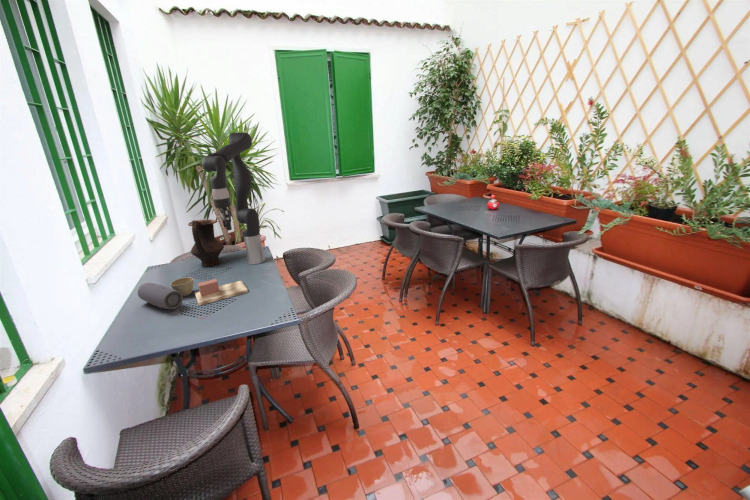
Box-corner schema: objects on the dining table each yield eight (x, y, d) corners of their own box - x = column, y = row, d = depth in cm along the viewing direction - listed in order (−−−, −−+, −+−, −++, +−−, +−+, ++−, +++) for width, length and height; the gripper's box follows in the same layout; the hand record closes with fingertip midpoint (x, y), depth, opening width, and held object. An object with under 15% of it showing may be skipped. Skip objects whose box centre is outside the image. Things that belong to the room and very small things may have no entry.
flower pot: (199, 293, 169) (196, 280, 167) (178, 300, 163) (174, 287, 160) (192, 288, 176) (188, 275, 174) (171, 295, 169) (167, 282, 167)
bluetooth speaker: (186, 306, 157) (181, 286, 154) (166, 315, 149) (160, 294, 146) (159, 297, 168) (154, 278, 165) (139, 305, 161) (133, 286, 158)
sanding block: (218, 289, 168) (215, 278, 166) (220, 293, 164) (217, 281, 162) (200, 294, 164) (197, 283, 162) (202, 297, 160) (199, 286, 158)
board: (241, 283, 178) (241, 280, 178) (248, 292, 167) (247, 289, 166) (195, 295, 167) (194, 292, 167) (199, 305, 156) (198, 302, 156)
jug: (201, 260, 218) (190, 214, 209) (230, 257, 220) (221, 211, 210) (187, 272, 199) (174, 222, 189) (220, 269, 200) (209, 219, 190)
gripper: (231, 197, 167) (238, 229, 172) (226, 194, 178) (232, 224, 183) (215, 200, 163) (222, 232, 168) (210, 196, 174) (217, 227, 180)
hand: (227, 228), depth 176 cm, fingers open, 8 cm apart
